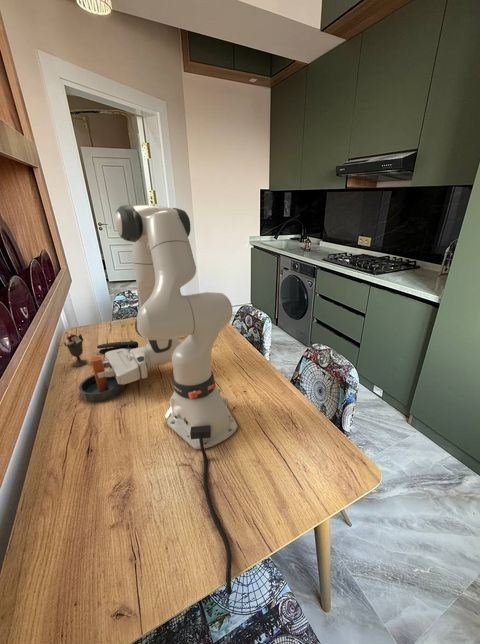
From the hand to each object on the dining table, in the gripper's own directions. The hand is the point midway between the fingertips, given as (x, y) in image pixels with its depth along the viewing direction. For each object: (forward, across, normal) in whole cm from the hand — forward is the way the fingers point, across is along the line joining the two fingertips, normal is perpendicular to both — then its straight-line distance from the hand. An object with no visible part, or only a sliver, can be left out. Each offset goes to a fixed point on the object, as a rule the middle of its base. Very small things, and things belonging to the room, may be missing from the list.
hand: (96, 372), depth 98 cm
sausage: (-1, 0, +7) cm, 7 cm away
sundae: (+3, -25, +8) cm, 27 cm away
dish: (-1, 0, +8) cm, 8 cm away
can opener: (-12, -25, +8) cm, 29 cm away
